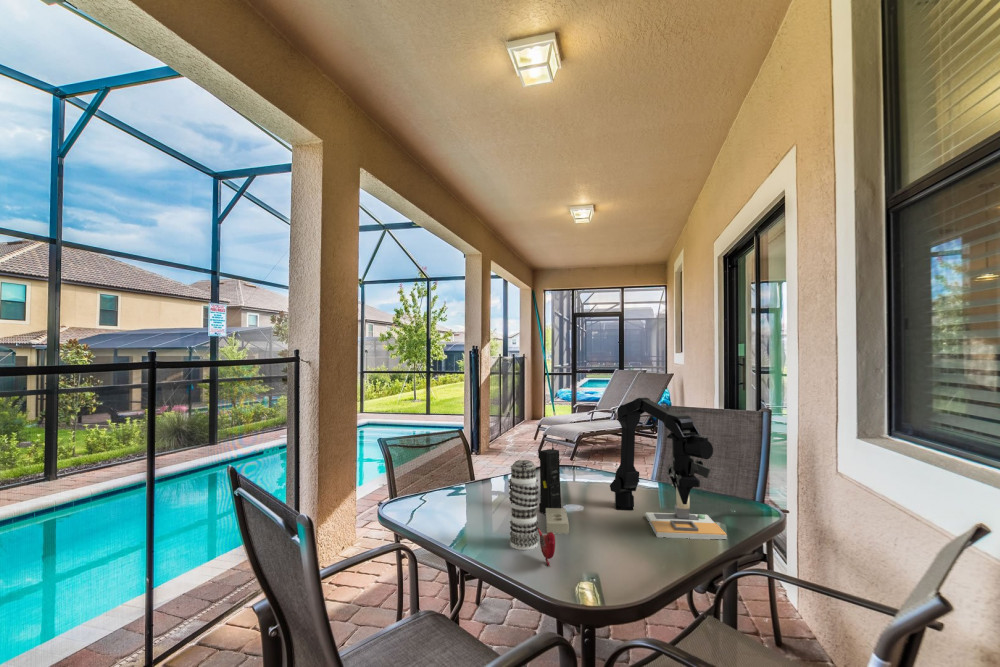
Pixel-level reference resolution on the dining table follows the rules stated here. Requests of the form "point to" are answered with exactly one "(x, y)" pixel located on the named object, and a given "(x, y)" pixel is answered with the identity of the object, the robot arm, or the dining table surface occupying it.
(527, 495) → the decorative candle
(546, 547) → the decorative bird figurine
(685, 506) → the lockout cap
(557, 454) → the portable radio
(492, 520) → the dining table surface
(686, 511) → the block
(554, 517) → the electrical outlet
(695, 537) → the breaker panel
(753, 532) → the dining table surface
